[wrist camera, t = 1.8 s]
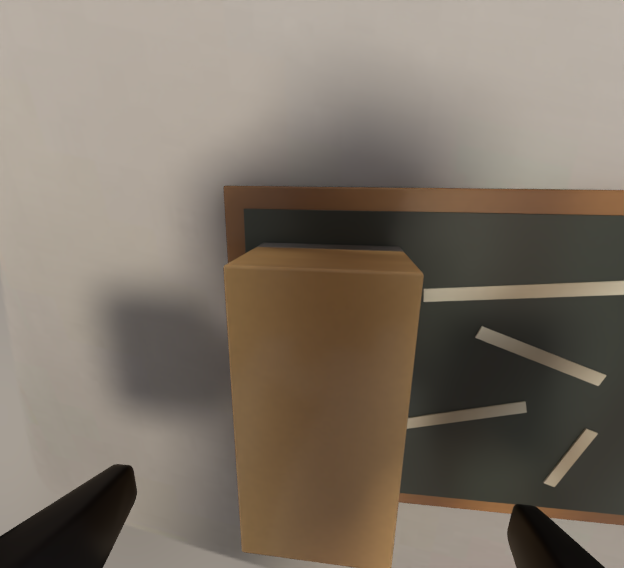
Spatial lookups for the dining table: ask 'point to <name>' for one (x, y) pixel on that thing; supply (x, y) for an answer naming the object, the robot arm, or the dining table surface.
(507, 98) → the dining table surface
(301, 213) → the slate board
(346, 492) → the eraser
